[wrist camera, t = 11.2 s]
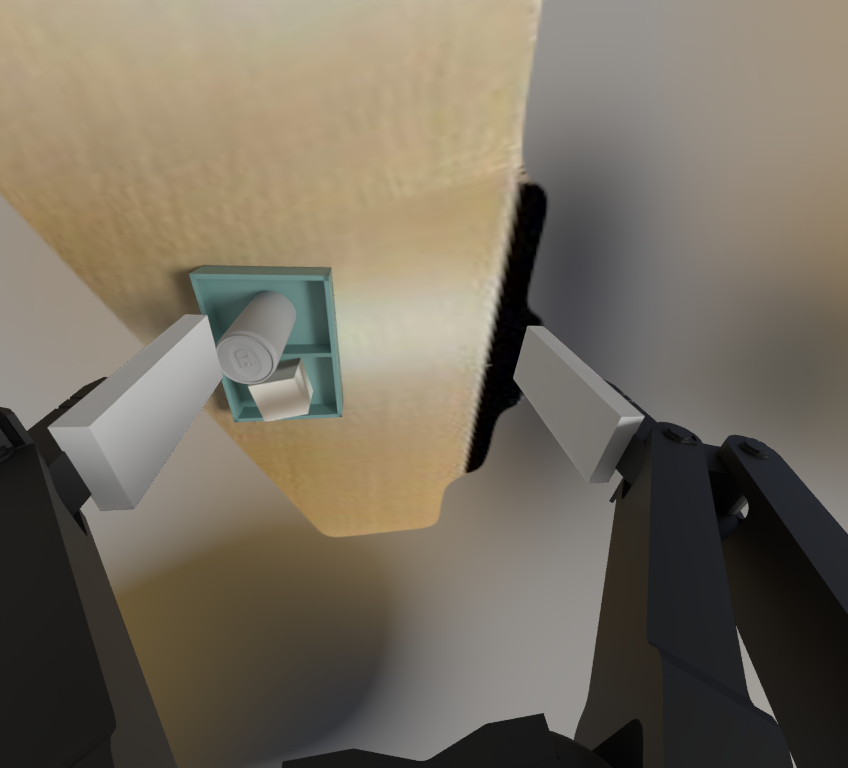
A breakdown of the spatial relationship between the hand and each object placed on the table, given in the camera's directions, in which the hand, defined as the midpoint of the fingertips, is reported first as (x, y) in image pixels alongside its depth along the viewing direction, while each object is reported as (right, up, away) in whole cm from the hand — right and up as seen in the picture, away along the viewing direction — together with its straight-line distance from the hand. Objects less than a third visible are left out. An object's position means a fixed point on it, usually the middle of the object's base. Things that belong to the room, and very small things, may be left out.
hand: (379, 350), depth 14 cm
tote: (-15, +4, +26) cm, 31 cm away
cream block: (-15, -1, +28) cm, 32 cm away
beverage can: (-15, +7, +23) cm, 29 cm away
